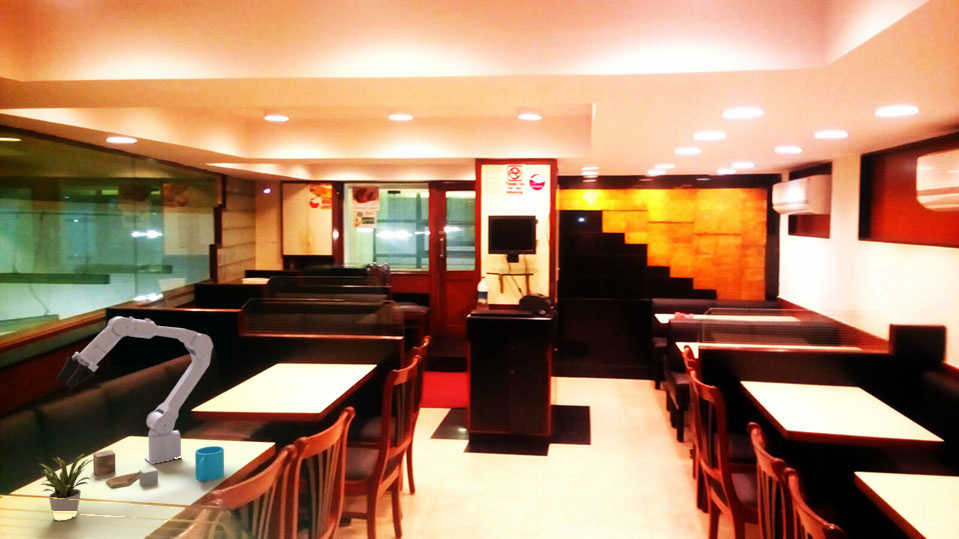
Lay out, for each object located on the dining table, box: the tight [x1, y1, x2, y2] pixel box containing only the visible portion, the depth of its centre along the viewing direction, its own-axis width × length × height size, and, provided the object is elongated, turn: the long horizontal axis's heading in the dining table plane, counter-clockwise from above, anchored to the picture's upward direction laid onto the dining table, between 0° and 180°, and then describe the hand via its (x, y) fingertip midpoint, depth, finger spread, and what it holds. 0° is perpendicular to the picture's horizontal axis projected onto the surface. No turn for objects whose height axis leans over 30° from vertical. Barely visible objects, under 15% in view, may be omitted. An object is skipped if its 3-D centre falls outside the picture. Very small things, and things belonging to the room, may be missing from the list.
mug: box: [195, 445, 225, 482], centre depth 201 cm, size 12×8×8 cm
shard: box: [105, 471, 139, 488], centre depth 198 cm, size 11×8×2 cm
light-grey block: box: [138, 466, 159, 487], centre depth 197 cm, size 4×4×4 cm
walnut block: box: [92, 449, 116, 477], centre depth 206 cm, size 5×5×6 cm
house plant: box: [40, 453, 97, 512], centre depth 173 cm, size 14×14×16 cm
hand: (63, 383), depth 198 cm, fingers open, 7 cm apart
